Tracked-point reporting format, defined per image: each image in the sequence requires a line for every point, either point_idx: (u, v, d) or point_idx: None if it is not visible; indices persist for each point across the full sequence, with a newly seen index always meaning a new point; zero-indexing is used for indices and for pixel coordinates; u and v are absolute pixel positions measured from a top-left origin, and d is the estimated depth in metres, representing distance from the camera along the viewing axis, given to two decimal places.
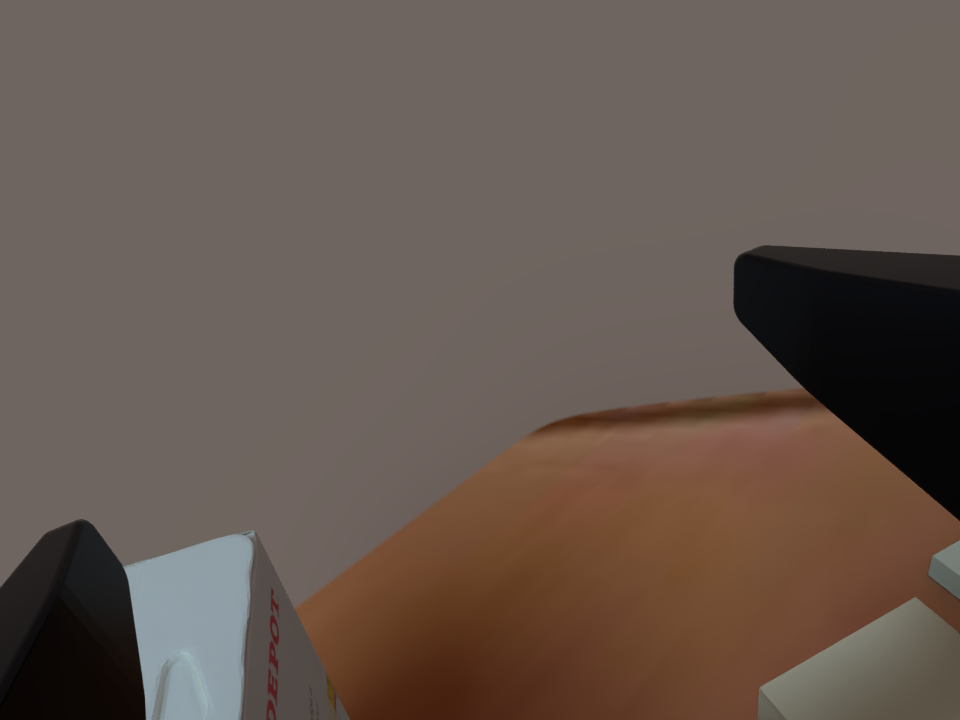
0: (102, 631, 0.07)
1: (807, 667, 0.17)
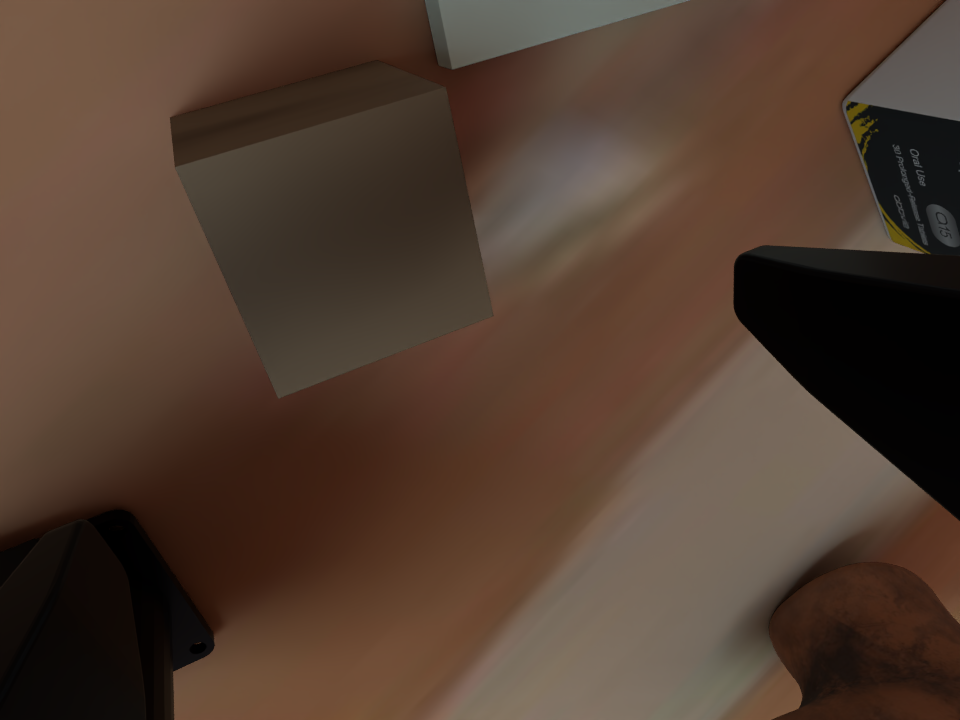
0: (102, 631, 0.07)
1: None
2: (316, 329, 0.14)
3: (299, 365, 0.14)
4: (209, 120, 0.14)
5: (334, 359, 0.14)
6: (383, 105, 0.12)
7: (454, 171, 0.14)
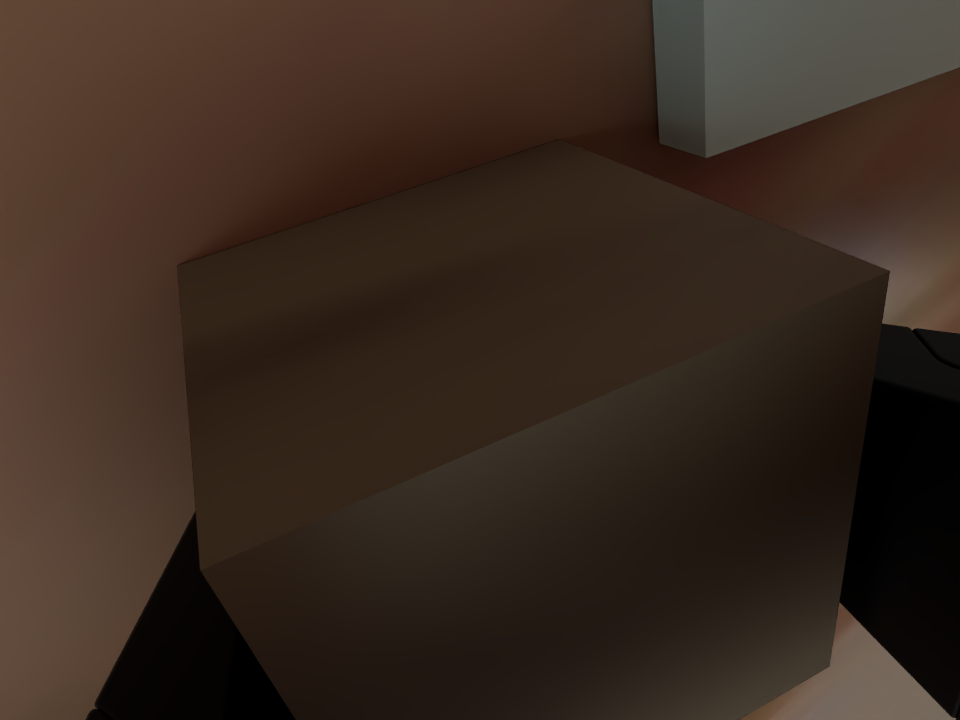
0: None
1: None
2: None
3: None
4: (264, 299, 0.07)
5: None
6: (748, 327, 0.05)
7: (847, 443, 0.06)
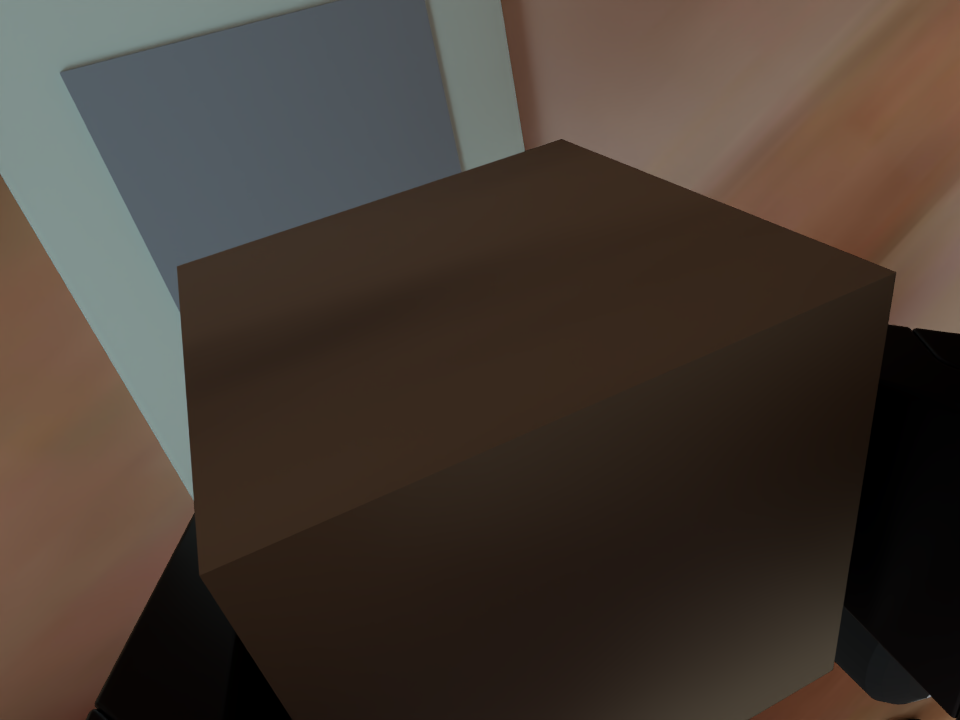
0: None
1: None
2: None
3: None
4: (264, 299, 0.07)
5: None
6: (755, 330, 0.05)
7: (852, 445, 0.06)
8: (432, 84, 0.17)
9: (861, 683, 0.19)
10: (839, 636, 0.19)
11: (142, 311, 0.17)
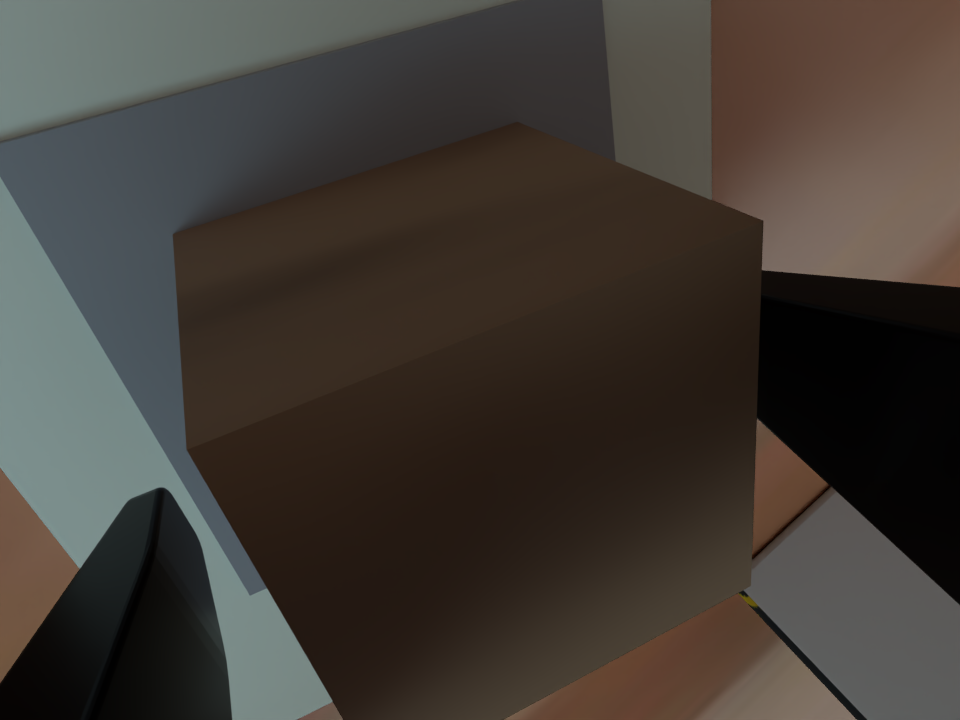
0: (189, 593, 0.07)
1: None
2: (460, 670, 0.07)
3: None
4: (247, 257, 0.08)
5: (485, 706, 0.08)
6: (641, 267, 0.06)
7: (742, 374, 0.07)
8: (599, 146, 0.11)
9: None
10: None
11: None
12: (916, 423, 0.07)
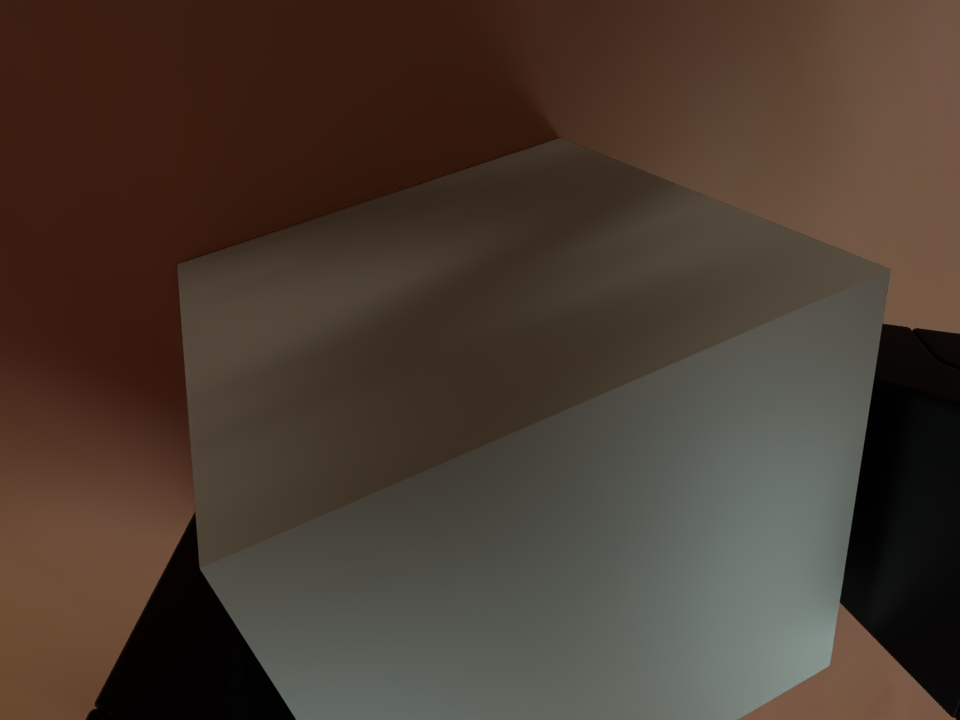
0: None
1: None
2: None
3: None
4: None
5: None
6: None
7: None
8: None
9: None
10: None
11: None
12: None
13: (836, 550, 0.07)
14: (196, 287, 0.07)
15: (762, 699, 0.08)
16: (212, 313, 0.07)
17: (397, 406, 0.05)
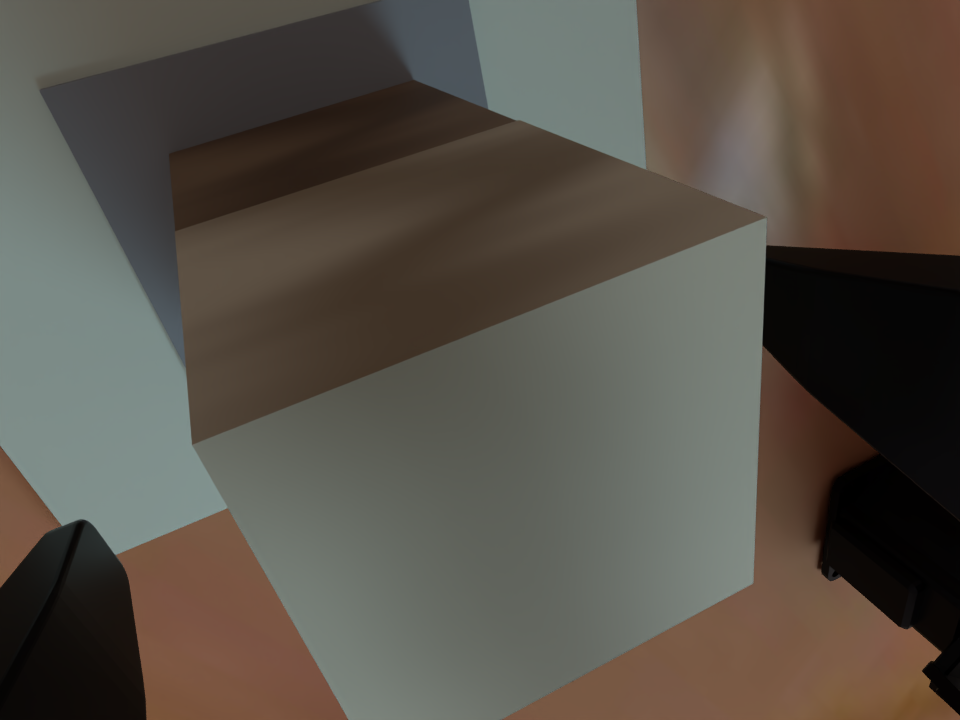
0: (102, 631, 0.07)
1: (363, 713, 0.07)
2: None
3: None
4: None
5: None
6: None
7: None
8: (179, 69, 0.12)
9: None
10: None
11: None
12: None
13: (747, 471, 0.08)
14: (192, 248, 0.08)
15: (692, 611, 0.09)
16: (205, 267, 0.08)
17: (356, 331, 0.06)
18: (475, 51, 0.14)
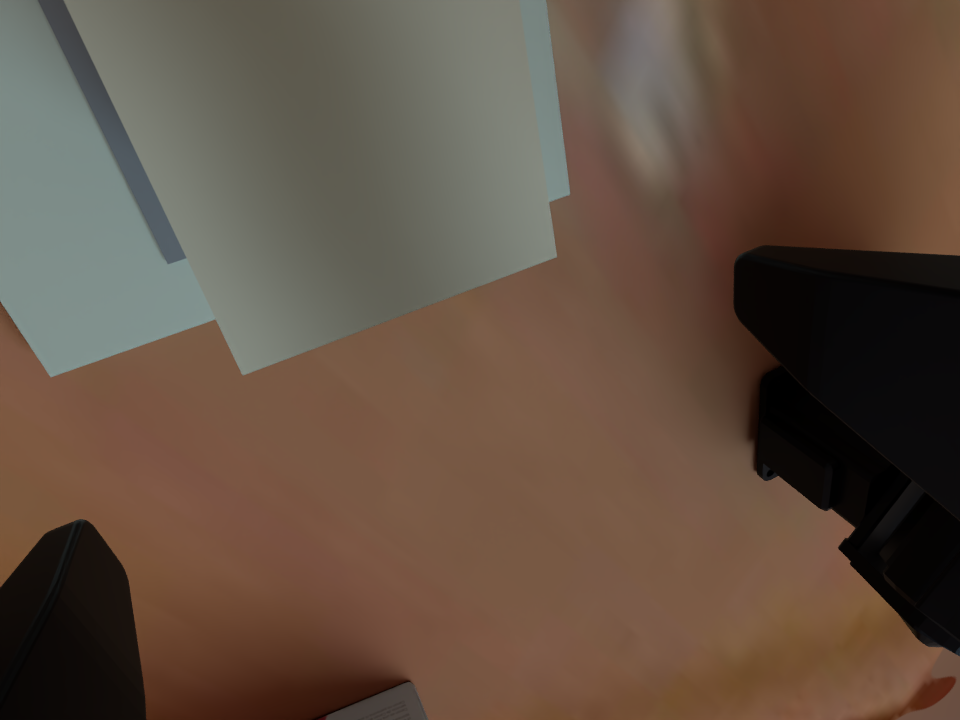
0: (101, 631, 0.07)
1: (215, 289, 0.09)
2: None
3: None
4: None
5: None
6: None
7: None
8: None
9: None
10: None
11: None
12: None
13: (528, 129, 0.10)
14: None
15: (505, 274, 0.11)
16: None
17: None
18: None
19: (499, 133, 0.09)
